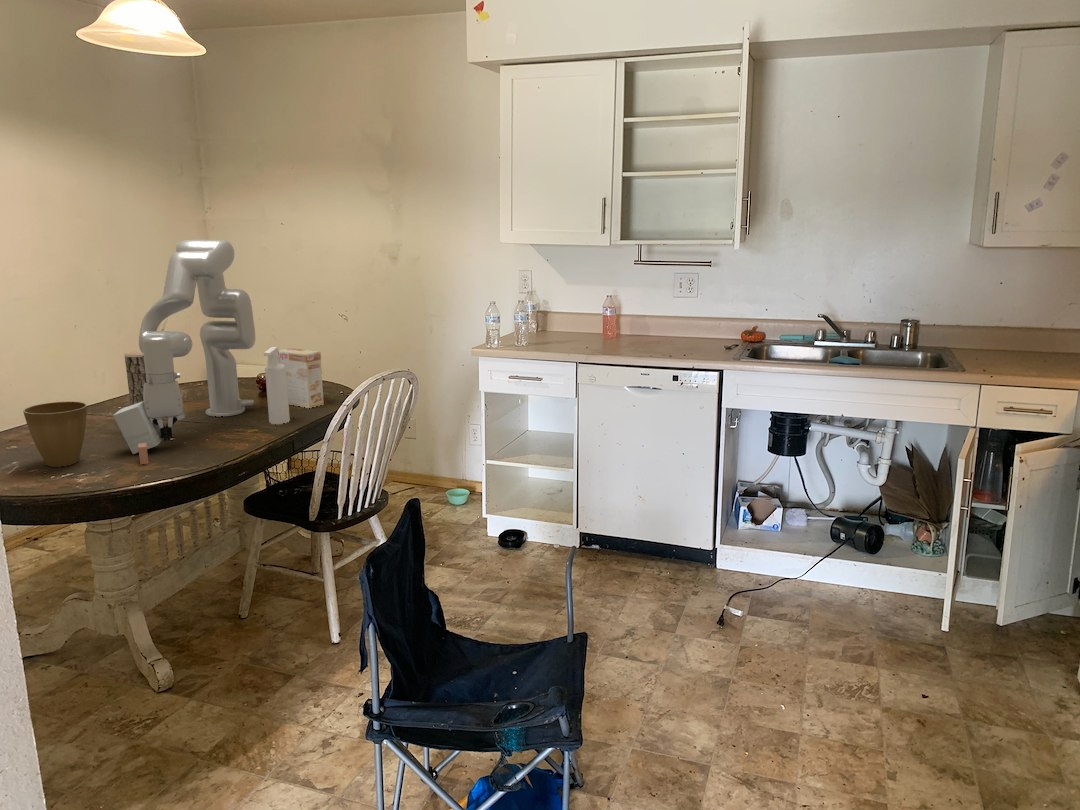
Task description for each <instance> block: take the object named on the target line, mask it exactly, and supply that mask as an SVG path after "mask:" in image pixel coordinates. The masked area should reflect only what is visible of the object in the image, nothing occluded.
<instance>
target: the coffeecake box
mask: <svg viewBox="0 0 1080 810" xmlns="http://www.w3.org/2000/svg"><path fill="white" fill-rule="evenodd" d="M278 351H279V352H278V353H277V354H278V355H279V356H280V357H281V362H282V364H283V365H284V366H285V368H286V375H287V389H288V403H289V406H293V405H294V406H293V407H298V406H300V407H299V408H304V407H305V408H304V409H309V408H310V409H313V408H312V407H314V408H317V407H316V406H318V407H321V406H320V405H322V406H324V405H325V403H324V389H323V376H322V375H323V373H322V372H323V371H322V353H321V351H315V350H310V349H301V348H295V347H290V348H283V349H278ZM278 360H279V358H278Z"/></svg>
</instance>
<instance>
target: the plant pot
mask: <svg viewBox="0 0 1080 810" xmlns="http://www.w3.org/2000/svg"><path fill="white" fill-rule="evenodd" d="M87 409H88V404H87V403H86V402H81V401H55V402H46V403H40V404H35V405H32V406H28V407H25V408H24V409H23V410H22V412H23V415H24V416H23V417H24V418H25V422H26V425H27V429H28V431H29V432H30V435H31V437H32V440H33V443H34V444H35V447H36V449H37V451H38V453H39V454H40V455H41V457H42V459H43V461H44V462H45V464H46V466H47V465H48V467H49V466H51V468H61V466H64V467H68V466H67V465H69V466H72V465H71V464H73V465H75V464H77V463H78V462H79V460H80V457H81V452H82V448H83V444H84V439H85V434H86V433H85V432H86V426H87V413H88V412H87ZM76 462H77V463H76ZM74 463H75V464H74Z"/></svg>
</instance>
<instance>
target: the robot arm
mask: <svg viewBox="0 0 1080 810" xmlns="http://www.w3.org/2000/svg"><path fill="white" fill-rule="evenodd" d="M175 250H176V252H174V253H172V254H171V255H170V257H169V260H168V265H167V270H166V276H165V280H164V285H163V286H164V287H163V292H162V296H161V298H159V300H157V301H156V302H155V303H154V304H153V305H152V306H151V307H150V308H149V310H148V311H147V312H146V313H145V315H144V316H143V318H142V321H141V325H140V329H139V335H138V348H139V350H140V352H142V353H143V354H144V364H145V373H146V382H147V383H145V384H144V387H143V402H144V410H145V414H146V416H147V418H150V420H151V422H152V423H154V424H156V425H157V427H158V429H159V431H160V433H161V438H163V441H164V442H167V441H169V442H171V438H172V437H173V432H172V431H173V430H172V428H173V425H174V424H175V423H176V422H177V421H180V420H183V419H185V418H186V416H185V413H184V405H183V397H182V392H181V388H180V383H179V382H178V380H176V379H178V378H181V374H180V372H176V371H175V367H174V366H175V365H174V358H183V357H185V356H187V355H188V354H189V353H190V352H191V350H192V349H193V340H192V337H191V336H190V335H189V334H188V333H186V332H184V331H178V330H177V331H173V330H172V331H169V330H167V331H166V330H165V331H164V330H158V329H159V326H160V325H161V323H162V322H163V321H164V320H165V319H167V318H169V317H171V316H172V315H174V314H178V313H179V312H181V311H183V310H185V309H188V308H190V307H191V306H192V305H193V304H194V300H195V294H196V287H197V292H198V299H199V300H198V301H199V306H200V309H201V313H202V314H203V315H204V316H205V317H208V318H216V319H221V318H222V319H223V318H224V319H234V320H211V321H207V322H205V323H203V324H202V326H201V327H200V329H199V337H200V341H201V345H202V349H203V352H204V353H203V354H204V357H205V366H206V368H205V369H206V378H207V386H208V387H207V388H208V390H207V391H208V398H209V408H207V409H206V410H205V414H206V416H209V417H215V416H216V417H221V416H223V417H231V416H232V417H233V416H237V415H241V414H243V413H244V412H245V411H246V408H245V406H246V407H247V406H255V402H254V401H255V400H254V399H241V397H240V392H239V381H238V371H237V370H238V369H237V362H236V361H237V360H236V358H235V356H234V355H233V354H232V352H231V351H230V350H249V349H251V348H253V347H254V345H255V344H256V329H255V320H254V313H253V312H254V311H253V306H252V300H251V298H250V295H249V293H248V292H247V291H245V290H243V289H239V288H227V287H226V285H225V283H226V282H225V276H224V273H225V271H227V270H228V269H229V268H230V267H231V266H232V264H233V262H234V259H235V250H234V247H233V244H231V242H230V241H228V240H223V239H185V240H180V241H179V242H178V243H177V244H176V248H175ZM163 418H167V422H166V426H165V424H164V422H163V420H162V419H163Z"/></svg>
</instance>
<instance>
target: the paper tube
mask: <svg viewBox="0 0 1080 810" xmlns="http://www.w3.org/2000/svg"><path fill="white" fill-rule="evenodd" d="M124 362H125V370H126V379H127V388H128V395H129V402H130V403H129V404H130V406H131V405H134V404H137V403H140V402H142V401H143V387H144V384H145V383H147V382H146V373H145V364H144V354H143V353H142V352H141V351H131V352H125V353H124Z"/></svg>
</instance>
